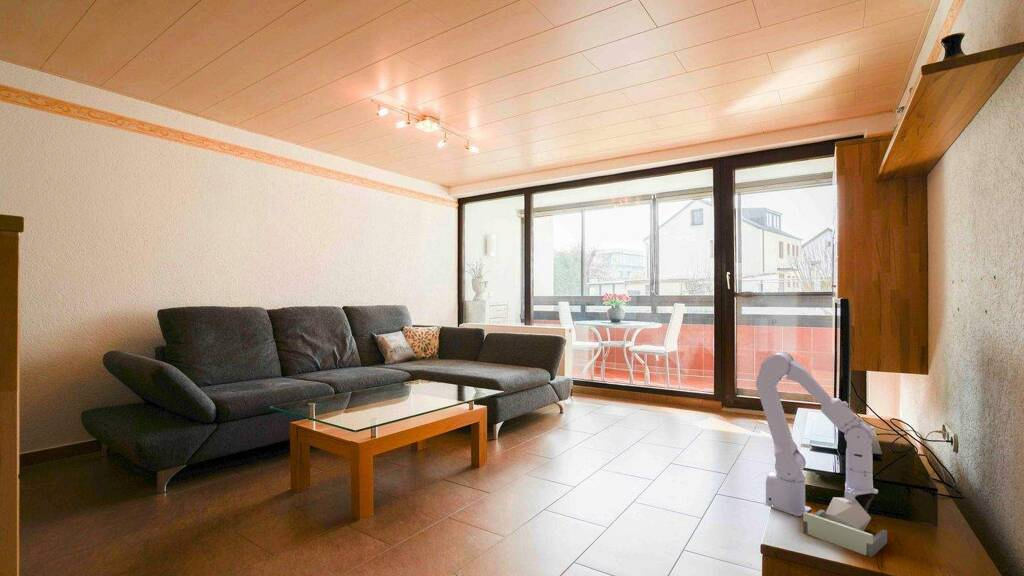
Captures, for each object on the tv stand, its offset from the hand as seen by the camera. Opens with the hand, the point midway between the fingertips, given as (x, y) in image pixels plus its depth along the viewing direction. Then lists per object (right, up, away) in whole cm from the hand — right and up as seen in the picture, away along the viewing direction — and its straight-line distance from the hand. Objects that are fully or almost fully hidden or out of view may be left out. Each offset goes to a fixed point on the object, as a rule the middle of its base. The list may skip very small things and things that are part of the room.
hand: (859, 520), depth 128 cm
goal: (-8, -1, -6) cm, 10 cm away
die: (-5, -2, -3) cm, 6 cm away
